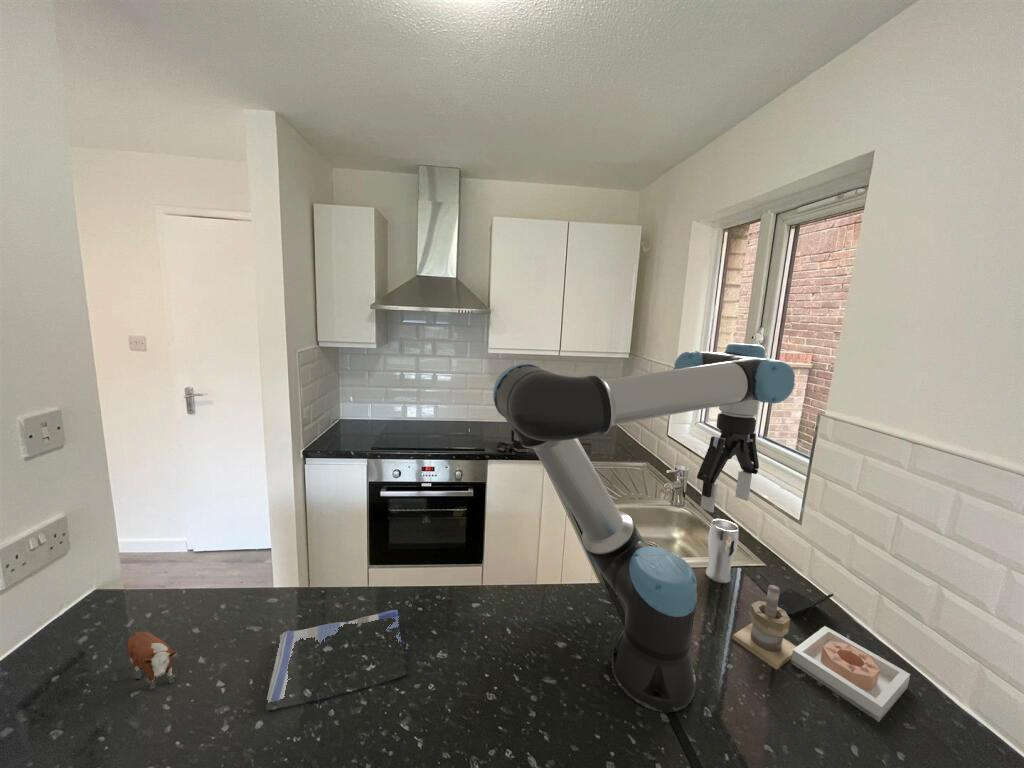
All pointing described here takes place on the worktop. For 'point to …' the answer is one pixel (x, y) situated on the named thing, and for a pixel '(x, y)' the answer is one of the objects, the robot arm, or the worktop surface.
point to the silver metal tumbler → (721, 549)
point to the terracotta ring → (850, 664)
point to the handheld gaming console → (797, 602)
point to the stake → (766, 636)
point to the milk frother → (515, 442)
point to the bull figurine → (150, 654)
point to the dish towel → (319, 633)
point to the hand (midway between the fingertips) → (724, 504)
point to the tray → (870, 702)
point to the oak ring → (769, 620)
